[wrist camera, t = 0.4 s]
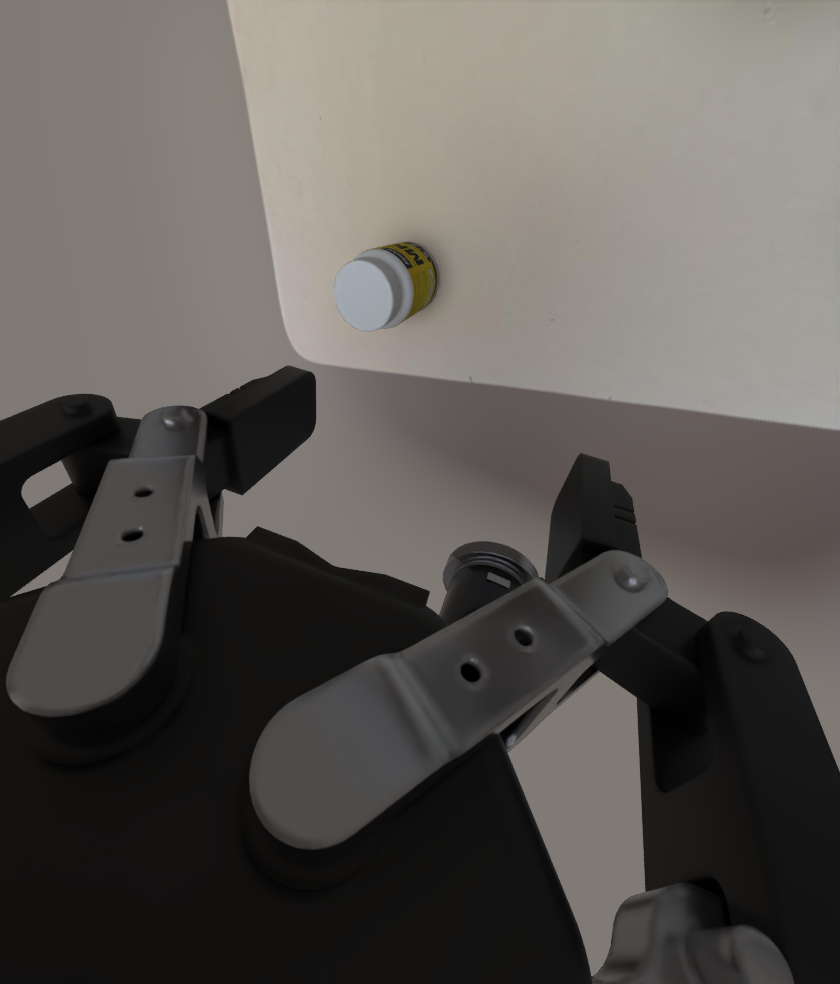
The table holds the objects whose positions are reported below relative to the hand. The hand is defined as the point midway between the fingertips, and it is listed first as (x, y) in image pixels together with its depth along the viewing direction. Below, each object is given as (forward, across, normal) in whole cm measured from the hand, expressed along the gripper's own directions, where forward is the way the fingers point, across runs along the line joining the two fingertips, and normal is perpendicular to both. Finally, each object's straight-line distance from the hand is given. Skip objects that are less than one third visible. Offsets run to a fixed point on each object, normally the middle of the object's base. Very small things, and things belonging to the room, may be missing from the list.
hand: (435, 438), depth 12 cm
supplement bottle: (+22, -9, 0) cm, 24 cm away
